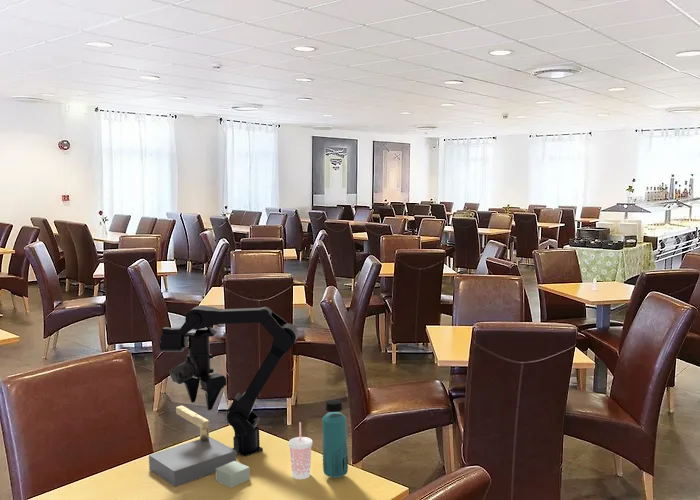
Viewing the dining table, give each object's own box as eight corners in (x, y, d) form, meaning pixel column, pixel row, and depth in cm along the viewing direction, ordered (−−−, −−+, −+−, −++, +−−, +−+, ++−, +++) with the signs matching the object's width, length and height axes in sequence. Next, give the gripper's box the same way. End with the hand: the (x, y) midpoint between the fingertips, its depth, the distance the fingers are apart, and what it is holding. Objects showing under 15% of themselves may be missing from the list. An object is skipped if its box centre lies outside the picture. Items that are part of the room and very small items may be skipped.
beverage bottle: (345, 484, 157) (344, 406, 155) (319, 482, 159) (318, 404, 157) (350, 473, 164) (349, 397, 162) (325, 471, 165) (324, 396, 163)
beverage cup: (318, 474, 163) (317, 421, 162) (300, 482, 159) (299, 428, 157) (301, 467, 167) (300, 416, 166) (284, 475, 163) (283, 422, 161)
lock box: (209, 450, 180) (208, 436, 179) (236, 465, 169) (236, 450, 169) (149, 469, 167) (148, 454, 167) (174, 486, 157) (174, 471, 157)
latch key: (210, 439, 176) (209, 420, 175) (202, 442, 174) (202, 422, 174) (183, 423, 189) (182, 405, 189) (176, 425, 188) (175, 407, 187)
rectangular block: (235, 473, 165) (234, 460, 165) (249, 480, 161) (249, 467, 161) (216, 481, 160) (215, 468, 160) (230, 488, 156) (230, 475, 156)
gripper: (156, 351, 178) (159, 405, 180) (189, 363, 165) (192, 421, 166) (192, 344, 186) (194, 396, 187) (226, 355, 172) (228, 411, 173)
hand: (201, 405), depth 178 cm, fingers open, 9 cm apart
